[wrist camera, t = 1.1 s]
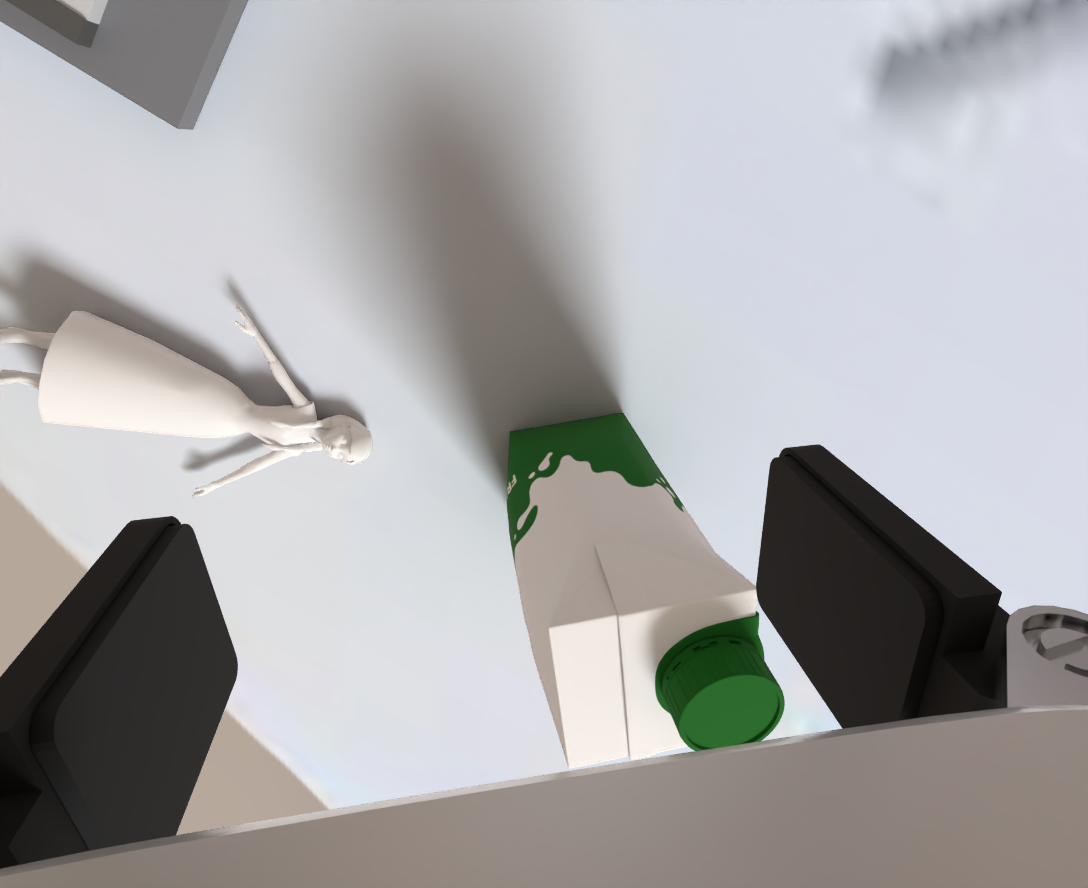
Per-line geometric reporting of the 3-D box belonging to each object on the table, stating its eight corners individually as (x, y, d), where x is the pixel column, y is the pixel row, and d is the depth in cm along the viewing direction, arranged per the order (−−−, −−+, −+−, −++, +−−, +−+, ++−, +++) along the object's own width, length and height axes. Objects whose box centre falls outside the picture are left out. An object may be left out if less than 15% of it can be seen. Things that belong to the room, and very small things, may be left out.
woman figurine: (-14, 244, 27) (403, 372, 33) (37, 229, 31) (401, 346, 37) (-35, 477, 31) (342, 553, 37) (13, 437, 35) (346, 512, 41)
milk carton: (643, 517, 43) (789, 784, 25) (510, 541, 42) (561, 834, 24) (636, 395, 39) (803, 608, 21) (489, 419, 38) (533, 661, 20)
